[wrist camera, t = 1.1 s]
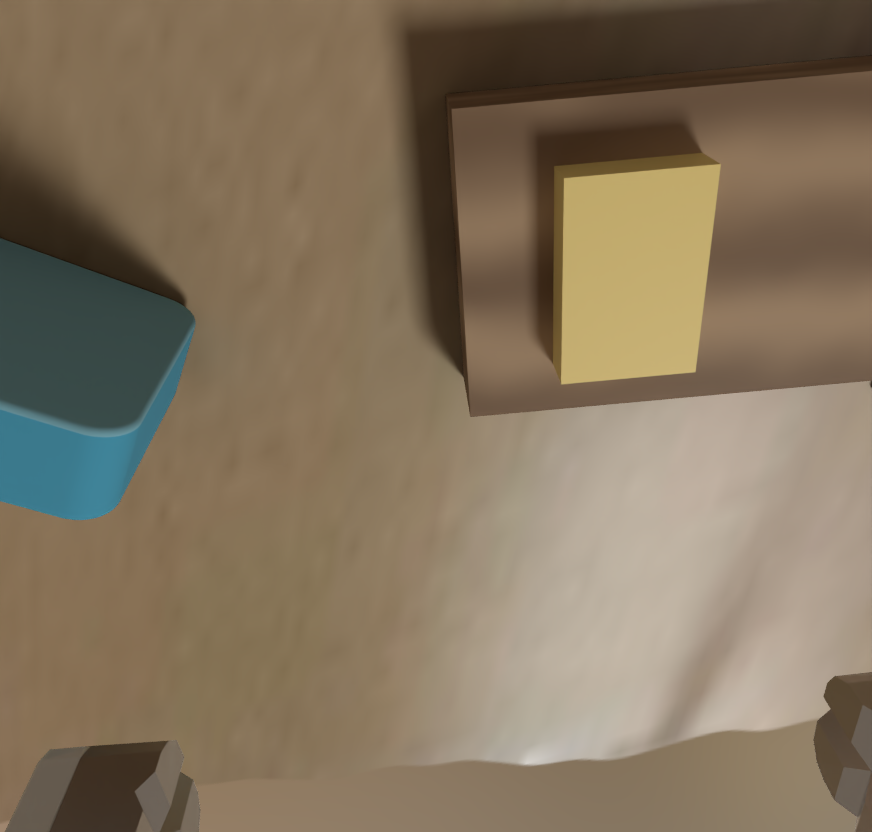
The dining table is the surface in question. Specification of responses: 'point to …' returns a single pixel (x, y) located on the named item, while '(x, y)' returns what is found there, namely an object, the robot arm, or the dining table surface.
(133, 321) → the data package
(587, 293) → the yellow block
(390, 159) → the dining table surface
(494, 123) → the board
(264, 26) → the dining table surface
